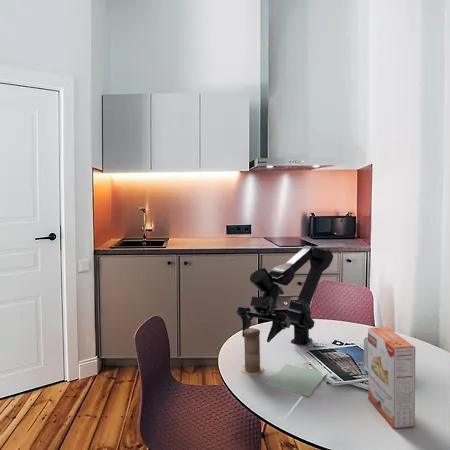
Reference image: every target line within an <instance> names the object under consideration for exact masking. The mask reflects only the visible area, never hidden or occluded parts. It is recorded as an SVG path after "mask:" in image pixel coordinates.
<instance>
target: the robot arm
mask: <svg viewBox="0 0 450 450" xmlns="http://www.w3.org/2000/svg"><path fill="white" fill-rule="evenodd" d="M333 259H334V254H333V253H332V251H331V250H330V249H324V248H318V247H316V246H314V245H313V246H312V245H304V246H302V247H301V249H300V250H299V251H298V252H297V253H296V254H294V255H293V256H292V257H291V258H290V259H289V260H288V261H287V262H285V263H282V264H280V265H277V266H275V267H273V268H272V269H271V270H270V271H268V270H267V269H266V268H265V267H259V269H257V270H255V271H254V272H252V273H251V274H250V277H249V282H250V283H252V284H253V286H255V288H256V289H257V290H258V291H259V292H262V295H261V296H259V297H257V296H254V295H253V296H251V298H250V299H251V301H250V307H253V310H254V311H252V310H251V308H250V307H248V306H243V305H240V306H238V307H237V309H236V314H237V315H238V317H239V318H240V319H241V323H242V335H241V336H242V337H243V338H244V330H245V329H249V328H250V327H251V325H252V320H253V318H254V319H261V320H266V321H270V322H271V321H272V323H271V327H270V330H269V333H268V335H267V339H266V342H267V343H270V342H271V340H272V341H273V339H274V338H275V337H276V336H277V335H278V334H279V333H280V332H281V331H282V330H283V331H285V330H286V329H290V327H291V326H293V338H292V339H291V340H290V343H293V344H299V345H303V346H307V345H308V344H309V343H311V341H313V338H311V337H310V330H312V329H314V327H315V321H314V319H313V318H312V317H311V314H312V313H311V306H310V305H311V302H312V301H313V297H314V294H315V292H316V290H317V287H318V284H319V281H320V279H321V276H322V274H323V272H325V270H327V269H328V268H329V267H330V265H331V264H332V261H333ZM308 261H309V265H310V267H309V270H308V273H307V275H306V277H305V280H304V283H303V285H302V288H301V290H300V293H299V295H298V297H297V299H296V300H295V301H294V300H293V301H292V300H291V301H290V302H289V305H288V308H287V309H286V311H287V312H283V311H282V312H280V311H276V312H275V310H277V309H278V305H277V302H278V299H279V297H280V296H282V295H284V294H285V293H284V290H283V288H282V287H281V286H285V287H286V286H289V284H291V283H292V281H293V279H294V278H295V274H296V273H297V272H298V271H299V270H300V269H301V268H302V267H304V265H305V264H306V263H308ZM279 285H281V286H279ZM308 342H309V343H308ZM307 343H308V344H307ZM306 344H307V345H306Z"/></svg>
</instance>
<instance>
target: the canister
mask: <svg viewBox="0 0 450 450" xmlns="http://www.w3.org/2000/svg"><path fill="white" fill-rule="evenodd" d="M260 335H261V330H260V329H258V328H252V327H251V328H250V327H249V329H245V330H244V337H243V340H244V341H243V342H244V365H245V370H246V371H247V372H249V373H256V372H259V371H260V365H261V345H260V344H261V343H260V342H261V340H260V339H261V338H260Z"/></svg>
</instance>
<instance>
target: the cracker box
mask: <svg viewBox="0 0 450 450" xmlns="http://www.w3.org/2000/svg"><path fill="white" fill-rule="evenodd" d="M367 336H368V372H367V374H368V376H367V377H368V383H367V384H368V386H367V387H368V397H367V398H368V399H367V400H369V401H370V402H371V404H372V405H373V406H374V407H375V409H377V411H378V412H379V413H380V415H382V416H383V418H384V419H385V420H386V422H387V423H388V424H389V426H391V427H392V429H393V430H395V429H403V428H414V427H416V425H415V424H416V423H415V422H416V416H415V415H416V346H415V345H413V344H412V343H410V342H409V341H407V340H406V339H405V338H403V336H400V335H399V334H397V333H396V332H394V330H392V329H391V328H390V327H387V326H383V327H370V328H367Z"/></svg>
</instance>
